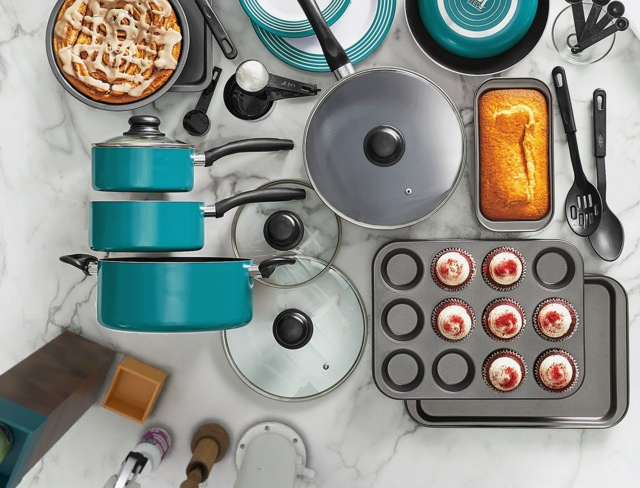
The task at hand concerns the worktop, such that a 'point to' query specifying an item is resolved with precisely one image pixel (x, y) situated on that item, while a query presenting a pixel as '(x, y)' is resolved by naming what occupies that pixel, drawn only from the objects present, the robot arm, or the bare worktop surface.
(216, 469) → the worktop surface
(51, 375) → the riser
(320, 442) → the worktop surface
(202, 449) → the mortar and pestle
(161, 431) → the pill bottle
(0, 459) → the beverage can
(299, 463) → the robot arm
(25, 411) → the teal bin
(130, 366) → the amber bin
